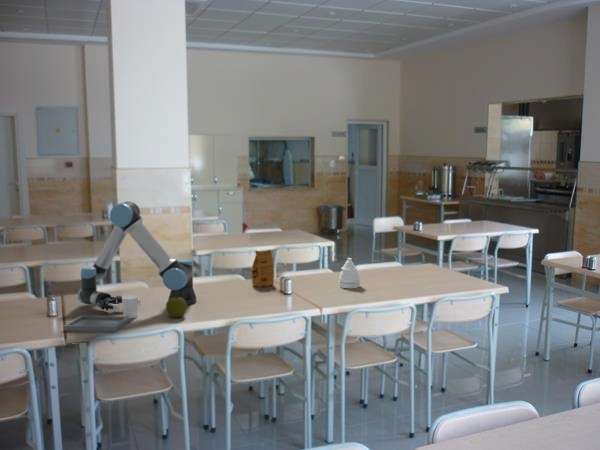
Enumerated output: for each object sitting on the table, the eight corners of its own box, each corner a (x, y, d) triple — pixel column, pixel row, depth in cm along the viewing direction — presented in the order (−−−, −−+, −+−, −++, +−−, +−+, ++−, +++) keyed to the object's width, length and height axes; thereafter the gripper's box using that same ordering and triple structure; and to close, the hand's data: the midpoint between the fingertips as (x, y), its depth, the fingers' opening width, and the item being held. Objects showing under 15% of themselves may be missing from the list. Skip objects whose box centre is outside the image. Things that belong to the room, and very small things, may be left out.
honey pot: (360, 289, 365) (360, 259, 362) (339, 289, 365) (339, 259, 363) (358, 284, 377) (359, 256, 375) (338, 284, 377) (338, 255, 375)
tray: (129, 321, 294) (129, 316, 293) (114, 332, 276) (114, 327, 276) (81, 320, 296) (81, 315, 296) (63, 331, 278) (63, 325, 278)
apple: (168, 320, 296) (167, 298, 295) (164, 315, 305) (164, 294, 304) (188, 318, 300) (188, 296, 299) (184, 313, 309) (183, 292, 308)
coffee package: (250, 285, 375) (249, 250, 373) (267, 283, 382) (267, 248, 379) (257, 288, 367) (257, 252, 364) (275, 285, 373) (275, 250, 371)
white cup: (124, 314, 306) (123, 295, 305) (139, 314, 307) (139, 295, 306) (120, 319, 299) (120, 299, 297) (137, 318, 299) (136, 298, 298)
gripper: (121, 301, 324) (148, 307, 313) (81, 311, 304) (108, 318, 292) (120, 288, 324) (148, 293, 312) (80, 297, 303) (108, 302, 291)
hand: (129, 305), depth 302 cm, fingers open, 13 cm apart
